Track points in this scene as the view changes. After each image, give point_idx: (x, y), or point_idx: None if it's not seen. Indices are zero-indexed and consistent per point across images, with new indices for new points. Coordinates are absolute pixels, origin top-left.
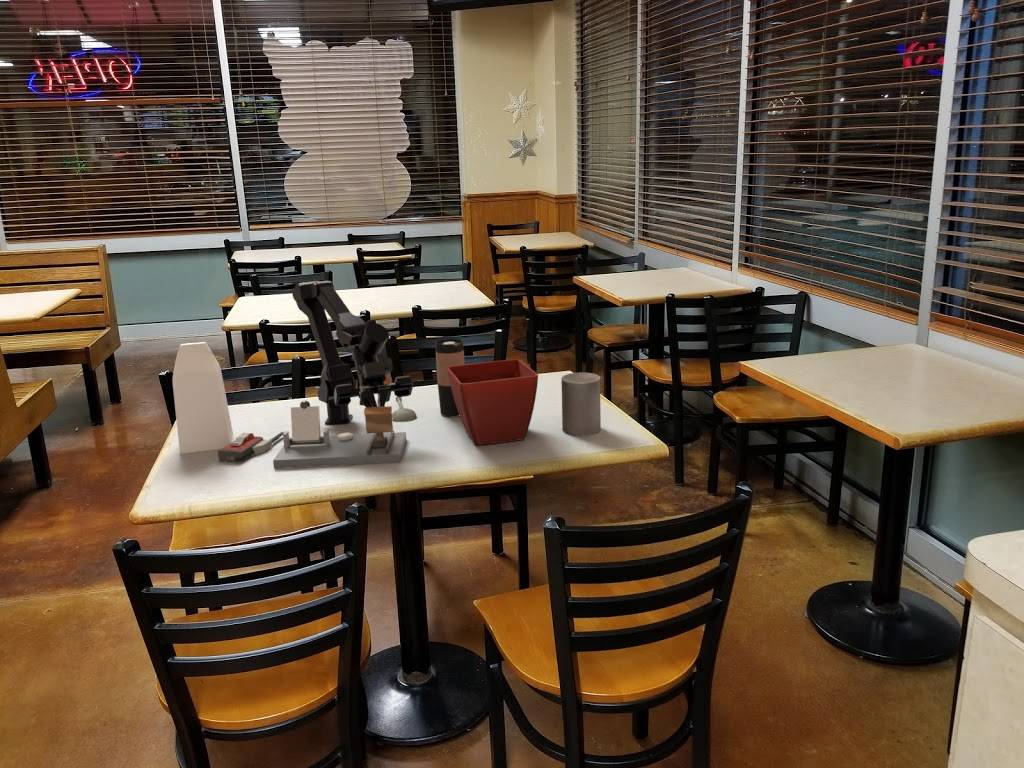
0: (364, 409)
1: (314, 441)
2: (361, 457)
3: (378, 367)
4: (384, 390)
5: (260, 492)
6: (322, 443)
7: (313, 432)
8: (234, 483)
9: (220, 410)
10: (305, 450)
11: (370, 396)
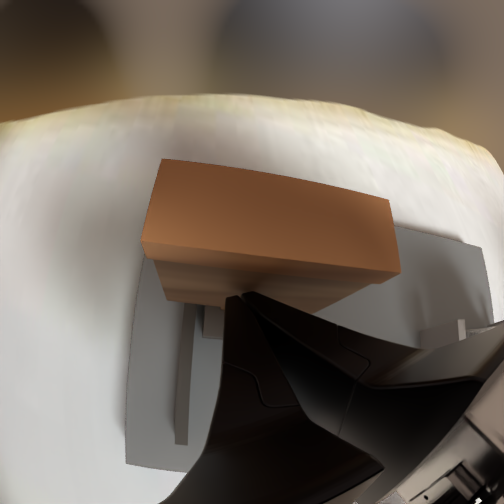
0: (391, 217)
1: None
2: None
3: None
4: (247, 493)
5: (431, 149)
6: None
7: (482, 331)
8: (479, 202)
9: None
10: (457, 303)
11: (437, 356)
